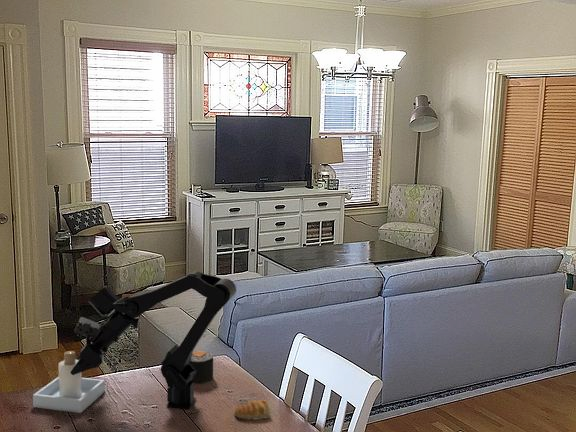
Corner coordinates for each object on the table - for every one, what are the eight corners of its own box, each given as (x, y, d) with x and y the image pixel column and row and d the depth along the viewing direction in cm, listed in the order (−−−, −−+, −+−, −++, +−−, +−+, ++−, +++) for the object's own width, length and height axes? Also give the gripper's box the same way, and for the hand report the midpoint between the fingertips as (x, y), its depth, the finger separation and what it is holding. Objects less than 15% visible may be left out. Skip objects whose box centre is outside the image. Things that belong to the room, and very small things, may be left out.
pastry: (237, 423, 171) (238, 409, 171) (231, 412, 177) (231, 399, 177) (271, 418, 174) (272, 405, 174) (264, 408, 180) (264, 395, 180)
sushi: (179, 378, 198) (179, 354, 197) (199, 370, 205) (199, 346, 203) (198, 386, 193) (198, 360, 192) (218, 377, 200) (218, 352, 199)
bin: (105, 391, 188) (104, 380, 187) (80, 412, 174) (80, 400, 174) (60, 386, 190) (60, 375, 190) (33, 407, 177) (32, 395, 176)
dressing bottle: (86, 394, 184) (85, 350, 182) (75, 403, 179) (73, 357, 177) (66, 391, 186) (65, 348, 184) (55, 400, 180) (53, 355, 178)
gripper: (96, 299, 188) (58, 337, 188) (87, 319, 170) (45, 361, 170) (125, 324, 191) (87, 362, 191) (119, 346, 173) (77, 388, 173)
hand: (74, 367), depth 181 cm, fingers open, 9 cm apart
